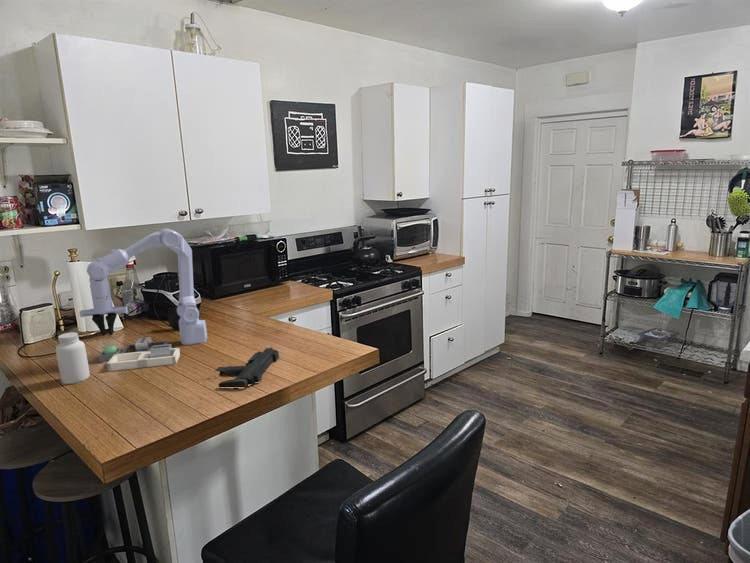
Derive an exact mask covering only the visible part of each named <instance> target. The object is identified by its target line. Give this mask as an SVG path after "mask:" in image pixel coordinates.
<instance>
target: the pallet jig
mask: <svg viewBox="0 0 750 563" xmlns="http://www.w3.org/2000/svg"><path fill="white" fill-rule="evenodd" d="M180 349H181V348H180V347H174V348H173V347H172V353H173V356H168V357H158V358H151V353H150V351H142V352H136V351H134V352H128V353H123V354H114V355H113V357H112V358H111V359H110V360H109V361H107V363H106V367H107V372H114V371H123V370H132V369H133V370H134V369H143V368H152V367H159V366H161V367H162V366H171V365H177V364H178V360H179V358H180V356H181V351H180Z"/></svg>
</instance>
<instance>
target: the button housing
mask: <svg viewBox="0 0 750 563" xmlns="http://www.w3.org/2000/svg"><path fill="white" fill-rule="evenodd" d="M122 351H123V348H122V347H121V348H119V347H118V348H117V353H116V354H121V352H122ZM113 355H114V354H107V355H104V350H103V351H102V352H101V353H100V354H99V355H98V361H99V364H103V363H104V362H109V360H110V359H111V358H112V357H113Z"/></svg>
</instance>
